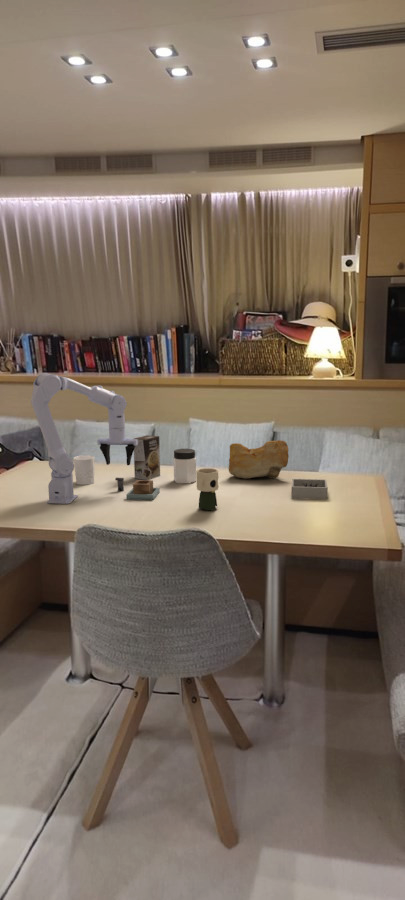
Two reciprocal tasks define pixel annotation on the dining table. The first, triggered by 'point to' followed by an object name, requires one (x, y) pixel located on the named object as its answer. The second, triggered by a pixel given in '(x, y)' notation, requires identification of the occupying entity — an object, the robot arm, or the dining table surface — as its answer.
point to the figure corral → (309, 489)
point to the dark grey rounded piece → (120, 484)
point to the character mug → (207, 487)
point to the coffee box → (147, 457)
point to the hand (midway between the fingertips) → (118, 464)
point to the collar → (143, 487)
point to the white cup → (84, 469)
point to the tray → (143, 495)
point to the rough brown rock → (258, 460)
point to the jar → (184, 466)
